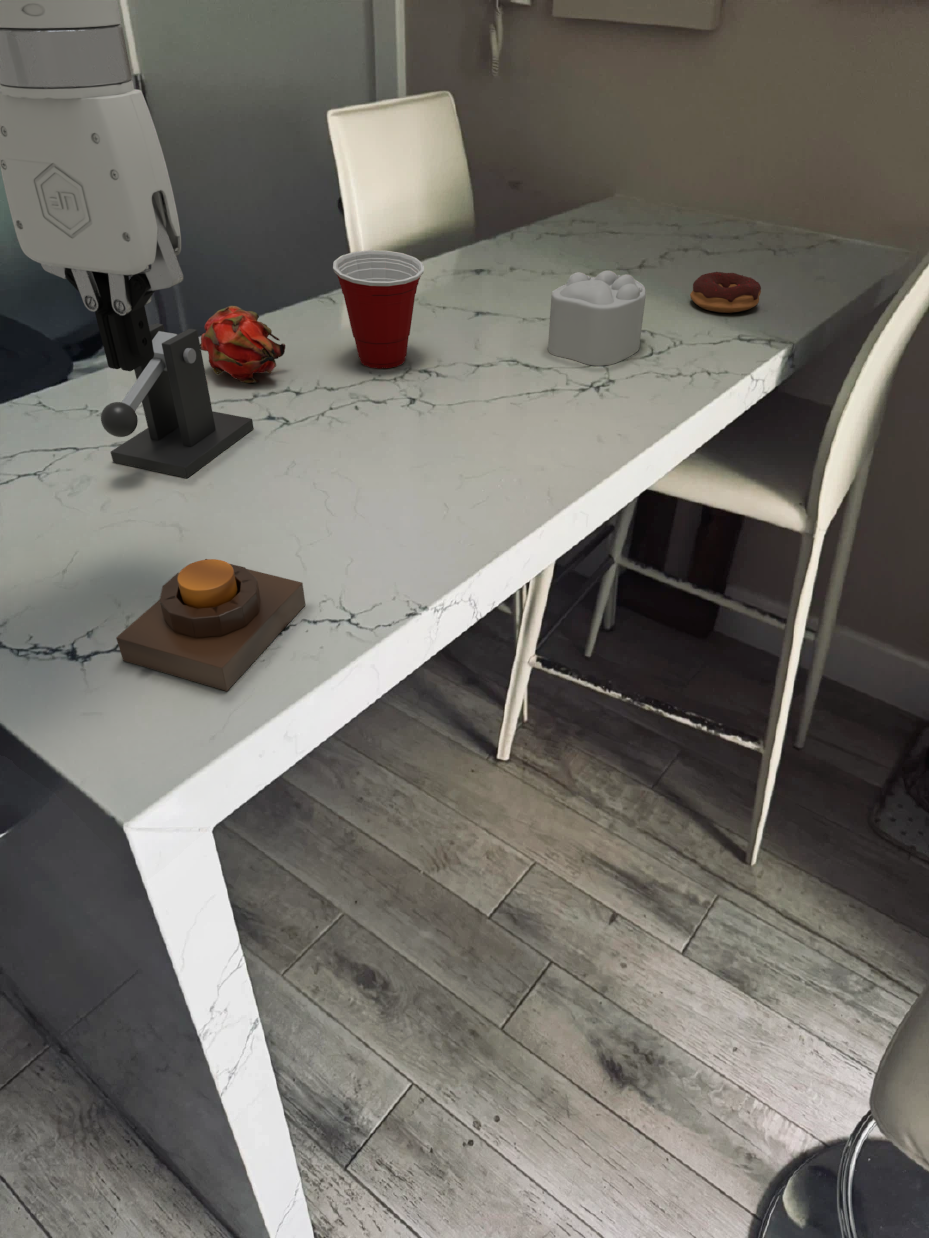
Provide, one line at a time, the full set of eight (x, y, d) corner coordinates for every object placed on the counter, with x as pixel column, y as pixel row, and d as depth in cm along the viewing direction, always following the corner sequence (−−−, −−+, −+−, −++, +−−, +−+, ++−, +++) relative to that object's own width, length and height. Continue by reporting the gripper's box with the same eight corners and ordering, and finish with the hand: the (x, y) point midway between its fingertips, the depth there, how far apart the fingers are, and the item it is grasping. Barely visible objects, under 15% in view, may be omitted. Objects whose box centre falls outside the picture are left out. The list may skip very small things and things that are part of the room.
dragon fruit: (223, 369, 112) (279, 410, 106) (169, 346, 104) (227, 389, 99) (252, 309, 110) (311, 347, 104) (201, 281, 103) (260, 321, 97)
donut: (696, 291, 133) (700, 264, 130) (762, 299, 130) (768, 271, 127) (682, 311, 125) (686, 282, 123) (752, 320, 122) (757, 291, 120)
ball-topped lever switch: (132, 446, 82) (116, 423, 79) (105, 441, 83) (87, 417, 80) (193, 356, 87) (179, 331, 84) (166, 352, 88) (152, 327, 85)
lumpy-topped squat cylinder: (537, 350, 113) (540, 282, 108) (591, 323, 121) (596, 258, 116) (606, 370, 108) (613, 298, 103) (657, 340, 116) (666, 273, 111)
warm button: (217, 614, 62) (212, 595, 61) (170, 602, 64) (165, 582, 62) (247, 584, 65) (244, 565, 64) (202, 573, 66) (198, 554, 65)
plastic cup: (372, 385, 104) (365, 282, 97) (324, 358, 111) (314, 260, 103) (444, 363, 109) (443, 264, 102) (394, 339, 116) (389, 244, 109)
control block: (227, 691, 61) (217, 647, 59) (122, 660, 64) (109, 617, 61) (305, 604, 69) (300, 563, 67) (210, 580, 72) (201, 539, 70)
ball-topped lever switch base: (187, 478, 86) (162, 362, 79) (112, 462, 88) (82, 348, 81) (253, 428, 95) (236, 320, 87) (184, 415, 97) (162, 308, 90)
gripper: (-86, 64, 51) (11, 368, 62) (128, 76, 47) (191, 398, 58) (8, 53, 57) (82, 333, 68) (206, 63, 53) (250, 359, 64)
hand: (132, 363), depth 63 cm, fingers closed
